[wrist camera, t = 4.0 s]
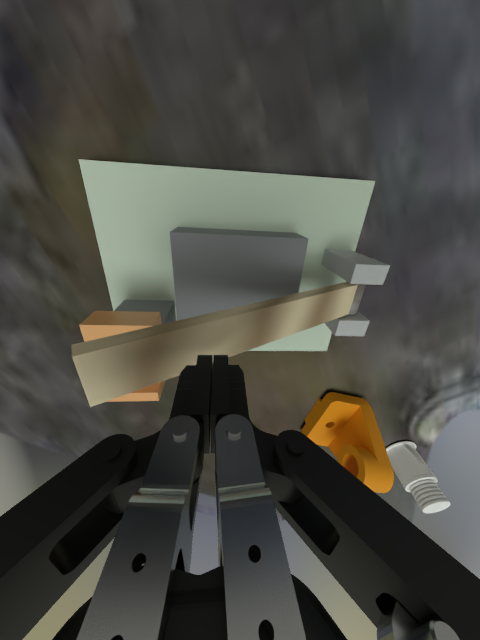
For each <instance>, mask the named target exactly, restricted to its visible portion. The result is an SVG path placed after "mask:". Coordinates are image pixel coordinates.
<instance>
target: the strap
mask: <svg viewBox="0 0 480 640" xmlns="http://www.w3.org/2000/svg"><path fill="white" fill-rule="evenodd" d="M365 286H366V284H350V283H348V282H343V283H339V284H335V285H330V286H326V287H322V288H317V289H313V290H308V291H304V292H300V293H295V294H291V295H287V296H282V297H278V298H274V299H269V300H265V301H261V302H256V303H252V304H247V305H243V306H239V307H234V308H230V309H226V310H221V311H217V312H213V313H208V314H204V315H200V316H195V317H191V318H187V319H182V320H178V321H173V322H169V323H165V324H160V325H156V326H152V327H147V328H143V329H139V330H134V331H130V332H126V333H121V334H117V335H113V336H108V337H104V338H99V339H95V340H91V341H86V342H82V343H78V344H73V345H72V358H73V361H74V363H75V366H76V369H77V372H78V374H79V377H80V380H81V383H82V385H83V388H84V391H85V394H86V396H87V399H88V402H89V405H90V407H92V406H95V405H98V404H100V403H103V402H106V401H109V400H112V399H114V398H117V397H120V396H123V395H125V394H128V393H131V392H134V391H137V390H139V389H142V388H145V387H148V386H151V385H153V384H156V383H159V382H162V381H164V380H167V379H170V378H173V377H176V376H178V375H180V373H181V371H182V370H183V369H184V368H185V367H186V365H196V363H197V357H198V355H212V356H213V357H214V355H228V357H231V356H234V355H237V354H240V353H242V352H245V351H248V350H251V349H253V348H256V347H259V346H262V345H265V344H267V343H270V342H273V341H276V340H278V339H281V338H284V337H287V336H290V335H292V334H295V333H298V332H301V331H303V330H306V329H309V328H312V327H315V326H317V325H320V324H323V323H326V322H329V321H331V320H334V319H337V318H340V317H342V316H345V315H348V314H351V315H353V314H356V313H357V310H358V307H359V304H360V301H361V298H362V295H363V292H364V289H365Z"/></svg>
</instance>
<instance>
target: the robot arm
mask: <svg viewBox="0 0 480 640" xmlns="http://www.w3.org/2000/svg"><path fill="white" fill-rule="evenodd" d="M210 427H211V453H215V486H216V508H217V529H218V563H219V567H217V568H215V569H213V570H211V571H209V572H206V573H204V574H202V575H194V574H191V573H189V571H190V564H191V554H192V540H193V531H194V524H195V516H196V510H197V503H198V496H199V489H200V482H201V474H202V469H203V458H204V453H209V447H210ZM275 508H276V509H277V510H278V511H279V513H280V514H281V515H282V516H283V517H284V518H285V520H286V521H287V522H288V523H289V524H290V525H291V527H292V528H293V529H294V530H295V531H296V533H297V534H298V535H299V536H300V537H301V538H302V540H303V541H304V542H305V543H306V544H307V546H308V547H309V548H310V549H311V550H312V551H313V553H314V554H315V555H316V556H317V557H318V559H319V560H320V561H321V562H322V563H323V565H324V566H325V567H326V568H327V569H328V570H329V572H330V573H331V574H332V575H333V576H334V578H335V579H336V580H337V581H338V582H339V584H340V585H341V586H342V587H343V588H344V589H345V591H346V592H347V593H348V594H349V595H350V597H351V598H352V599H353V600H354V601H355V602H356V604H357V605H358V606H359V607H360V608H361V610H362V611H363V612H364V613H365V614H366V615H367V617H368V618H369V619H370V620H371V621H372V623H373V624H374V625H375V626H376V627H377V640H480V579H479V578H478V577H476V576H475V575H474V574H473V573H471V572H470V571H469V570H468V569H467V568H465V567H464V566H463V565H462V564H461V563H459V562H458V561H457V560H456V559H454V558H453V557H452V556H451V555H450V554H448V553H447V552H446V551H445V550H444V549H442V548H441V547H440V546H439V545H437V544H436V543H435V542H434V541H433V540H432V539H430V538H429V537H428V536H427V535H425V534H424V533H423V532H422V531H421V530H419V529H418V528H417V527H416V526H415V525H413V524H412V523H411V522H410V521H409V520H407V519H406V518H405V517H404V516H402V515H401V514H400V513H399V512H398V511H396V510H395V509H394V508H393V507H392V506H390V505H389V504H388V503H387V502H386V501H384V500H383V499H382V498H381V497H379V496H378V495H377V494H376V493H375V492H373V491H372V490H371V489H370V488H369V487H367V486H366V485H365V484H364V483H363V482H361V481H360V480H359V479H358V478H356V477H355V476H354V475H353V474H352V473H350V472H349V471H348V470H347V469H346V468H344V467H343V466H342V465H341V464H340V463H338V462H337V461H336V460H335V459H333V458H332V457H331V456H330V455H329V454H327V453H326V452H325V451H324V450H323V449H321V448H320V447H319V446H318V445H317V444H315V443H314V442H313V441H312V440H310V439H309V438H308V437H307V436H306V435H304V434H303V433H301V432H298V431H295V430H286V431H283V432H281V433H280V434H279V435H278V436H276V435H273V434H269V433H266V432H263V431H261V430H259V429H258V428H256V427H255V426H254V425H253V423H252V422H251V420H250V418H249V413H248V405H247V397H246V389H245V382H244V373H243V371H242V369H241V368H240V367H239V365H228V355H214V357H213V356H212V355H198V357H197V363H196V365H186V367H185V368H184V369H183V370H182V371H181V373H180V377H179V382H178V385H177V390H176V394H175V398H174V402H173V406H172V411H171V415H170V418H169V420H168V421H167V422H166V423H165V424H164V426H163V427H162V429H161V430H160V431H158V432H157V433H155V434H153V435H151V436H148V437H145V438H142V439H139V440H136V441H134V440H133V439H132V437H130V436H128V435H125V434H116V435H112V436H110V437H107V438H105V439H104V440H102V441H101V442H99V443H98V444H97V445H95V446H94V447H93V448H91V449H90V450H89V451H87V452H86V453H85V454H83V455H82V456H81V457H79V458H78V459H77V460H75V461H74V462H73V463H71V464H70V465H69V466H67V467H66V468H65V469H63V470H62V471H61V472H59V473H58V474H57V475H55V476H54V477H53V478H51V479H50V480H49V481H47V482H46V483H44V484H43V485H42V486H40V487H39V488H38V489H37V490H35V491H34V492H33V493H31V494H30V495H28V496H27V497H26V498H25V499H23V500H22V501H20V502H19V503H18V504H16V505H15V506H14V507H12V508H11V509H10V510H9V511H7V512H6V513H4V514H3V515H2V516H1V517H0V640H22V639H23V638H24V637H25V636H26V635H27V634H28V633H29V631H30V630H31V629H32V628H33V627H34V626H35V625H36V624H37V623H38V621H39V620H40V619H41V618H42V617H43V616H44V615H45V614H46V612H48V610H49V609H50V608H51V607H52V606H53V605H54V604H55V603H56V601H57V600H58V599H59V598H60V597H61V596H62V595H63V593H65V591H66V590H67V589H68V588H69V587H70V586H71V585H72V584H73V583H74V582H75V580H76V579H77V578H78V577H79V576H80V575H81V574H82V573H83V572H84V570H85V569H86V568H87V567H88V566H89V565H90V564H91V563H92V562H93V560H94V559H95V558H96V557H97V556H98V555H99V554H100V553H101V552H102V550H103V549H104V548H105V547H106V546H107V545H108V544H109V543H110V542H111V541H112V539H113V538H114V537H115V538H114V541H113V543H112V546H111V549H110V551H109V554H108V557H107V559H106V562H105V565H104V567H103V570H102V573H101V576H100V578H99V581H98V583H97V586H96V589H95V591H94V594H93V596H92V597H91V598H90V599H89V600H88V601H87V602H86V603H85V604H83V605H82V606H81V607H80V608H79V609H78V610H77V611H76V612H75V613H74V615H73V616H72V617H71V618H70V619H69V620H68V621H67V622H66V623H65V624H64V626H63V627H62V628H61V629H60V631H59V632H58V633H57V634H56V636H55V637H54V638H53V639H52V640H347V639H346V637H345V636H344V634H343V633H342V632H341V630H340V629H339V628H338V626H337V625H336V623H335V622H334V621H333V619H332V618H331V616H330V615H329V614H328V612H327V611H326V609H325V608H324V607H323V605H322V604H321V603H320V601H319V600H318V599H317V597H316V596H315V595H314V594H313V593H312V592H311V591H310V589H309V588H308V587H307V586H306V585H305V584H304V583H302V582H301V581H300V580H299V579H298V578H296V577H295V576H294V575H292V574H291V573H290V568H289V564H288V560H287V555H286V551H285V547H284V543H283V539H282V534H281V530H280V526H279V521H278V517H277V513H276V509H275Z"/></svg>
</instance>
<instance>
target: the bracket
mask: <svg viewBox="0 0 480 640" xmlns="http://www.w3.org/2000/svg"><path fill="white" fill-rule="evenodd" d="M305 423H306V424H305V426H304V427H303V429H302V430H301V432H302V433H303V434H304V435H306V436H307V437H308V438H309V439H310V440H312V441H313V442H314V443H315V444H317V445H322V446H328V448H329V449H330V450H331V451H332V452H333V454H334V455H335V456H336V457H337V462H338V463H340V464H341V465H342V466H343V467H344V468H346V469H347V470H348V471H349V472H350V473H352V474H353V475H354V476H355V477H356V478H358V479H359V480H360V481H361V482H363V483H364V484H365V485H366V486H367V487H369V488H370V489H371V490H372V491H373V492H378V493H386V492H388V491H389V490H390V489H391V488H392V486H393V481H394V474H393V469H392V466H391V463H390V460H389V457H388V454H387V451H386V448H385V445H384V443H383V440H382V437H381V434H380V431H379V428H378V425H377V422H376V419H375V416H374V413H373V410H372V408H371V406H370V405H369V404H368V402H367V401H366V399H363V398H358V397H354V396H349V395H344V394H340V393H335V392H330V393H327V394H326V395H325V397H324V398H323V399H318V401H317V402H316V404H315V405H314V407H313V408H312V410H311V411H310V412H309V414H308V415H307V417H306V418H305Z"/></svg>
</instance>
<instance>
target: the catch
mask: <svg viewBox="0 0 480 640" xmlns="http://www.w3.org/2000/svg"><path fill="white" fill-rule="evenodd" d="M160 324H162V322H161V314H160V312H135V311H94V312H93V313H92V314H91V315H90V316H89V317H88V318H86V319H85V320H84V321H83V322H82V323H81V324H80V325H79V326H80V329H81V332H82V335H83V338H84V341H85V342H86V341H91V340H95V339H99V338H104V337H108V336H113V335H117V334H121V333H126V332H130V331H134V330H139V329H143V328H147V327H152V326H156V325H160ZM164 383H165V380H164V381H162V382H159V383H156V384H153V385H151V386H148V387H145V388H142V389H139V390H137V391H134V392H131V393H128V394H125V395H123V396H120V397H117V398H114V399H112V400H109V401H106V402H113V401H159V399H160V396H161V392H162V389H163V386H164Z"/></svg>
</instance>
